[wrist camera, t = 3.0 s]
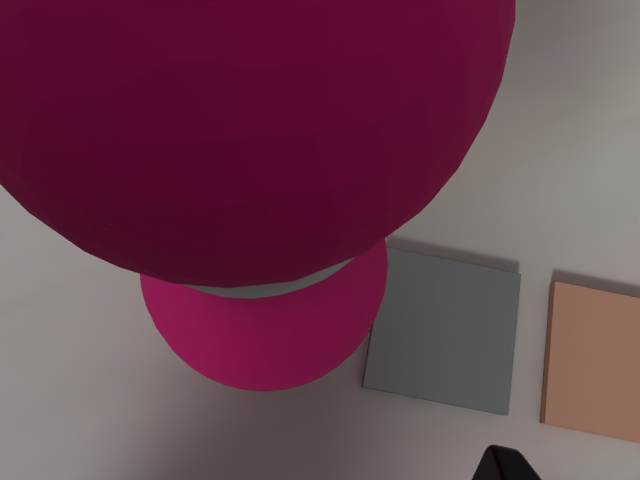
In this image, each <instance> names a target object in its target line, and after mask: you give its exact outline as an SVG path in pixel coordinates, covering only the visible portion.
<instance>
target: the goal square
mask: <svg viewBox="0 0 640 480" xmlns="http://www.w3.org/2000/svg"><path fill="white" fill-rule="evenodd" d="M540 423H544V424H549V425H554V426H559V427H564V428H569V429H574V430H579V431H584V432H589V433H594V434H599V435H604V436H609V437H614V438H619V439H624V440H628V441H633V442H638V443H640V298H636V297H631V296H626V295H621V294H616V293H611V292H606V291H601V290H596V289H591V288H586V287H581V286H576V285H572V284H567V283H562V282H557V281H555V282H553V283H551V285H550V298H549V311H548V324H547V338H546V351H545V364H544V377H543V390H542V404H541V417H540Z"/></svg>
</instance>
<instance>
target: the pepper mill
mask: <svg viewBox="0 0 640 480" xmlns="http://www.w3.org/2000/svg"><path fill="white" fill-rule="evenodd" d="M514 23H515V0H0V184H1V185H2V186H3V187H4V188H5V189H6V190H7V191H8V192H9V193H10V194H11V195H12V196H13V197H14V198H15V199H16V200H17V201H18V202H19V203H20V204H21V205H22V206H23V207H24V208H25V209H26V210H27V211H28V212H29V213H30V214H32V215H33V216H35V217H36V218H37V219H39V220H40V221H42V222H43V223H45V224H46V225H47V226H49V227H50V228H52V229H53V230H55V231H56V232H57V233H59V234H60V235H62V236H63V237H65V238H66V239H67V240H69V241H70V242H72V243H73V244H75V245H76V246H77V247H79V248H80V249H82V250H83V251H85V252H87V253H89V254H91V255H94V256H96V257H98V258H100V259H102V260H105V261H107V262H109V263H111V264H114V265H116V266H118V267H121V268H124V269H127V270H130V271H133V272H137V273H140V280H141V288H142V292H143V296H144V299H145V303H146V307H147V309H148V311H149V313H150V315H151V317H152V319H153V321H154V323H155V326H156V328H157V329H158V331H159V332H160V333H161V335H162V336H163V338H164V339H165V340H166V342H167V343H168V344H169V346H170V347H171V349H172V350H173V351H174V352H175V353H176V354H177V355H178V356H179V357H180V358H181V359H183V360H184V361H185V362H186V363H187V364H188V365H189V366H190V367H191V368H193V369H195V370H196V371H198V372H199V373H201V374H203V375H204V376H206V377H207V378H210V379H212V380H214V381H217V382H219V383H222V384H224V385H227V386H231V387H235V388H239V389H244V390H255V391H272V390H284V389H288V388H292V387H296V386H300V385H304V384H306V383H308V382H311V381H313V380H315V379H318V378H320V377H322V376H323V375H325V374H327V373H328V372H330V371H331V370H333V369H334V368H336V367H338V366H339V365H340V364H341V363H342V362H343V361H344V360H346V359H347V358H348V357H349V356H350V355H351V354H352V353H353V352H354V351H355V350H356V348H357V347H358V346H359V345H360V343H361V342H362V341H363V340H364V338H365V337H366V335H367V333H368V332H369V330H370V328H371V326H372V324H373V322H374V320H375V319H376V317H377V314H378V311H379V308H380V305H381V302H382V300H383V297H384V294H385V287H386V279H387V271H388V258H387V250H386V242H385V238H386V237H387V236H388V235H390V234H391V233H392V232H394V231H395V230H396V229H398V228H399V227H401V226H402V225H403V224H405V223H406V222H407V221H409V220H410V219H411V218H413V217H414V216H416V215H417V214H418V213H420V212H421V211H422V210H423V209H424V208H425V207H426V206H427V205H428V204H429V202H430V201H431V200H432V199H433V198H434V197H435V196H436V194H437V193H438V192H439V191H440V190H441V188H442V187H443V186H444V185H445V184H446V182H447V181H448V180H449V179H450V178H451V176H452V175H453V174H454V173H455V172H456V170H457V169H458V167H459V166H460V164H461V162H462V160H463V159H464V157H465V155H466V154H467V152H468V150H469V148H470V147H471V145H472V143H473V141H474V140H475V138H476V136H477V135H478V133H479V131H480V129H481V128H482V126H483V124H484V123H485V120H486V118H487V115H488V113H489V111H490V108H491V106H492V103H493V101H494V98H495V96H496V93H497V91H498V88H499V86H500V83H501V81H502V76H503V72H504V67H505V63H506V58H507V54H508V49H509V45H510V40H511V36H512V31H513V27H514Z"/></svg>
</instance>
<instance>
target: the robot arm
mask: <svg viewBox="0 0 640 480" xmlns="http://www.w3.org/2000/svg"><path fill="white" fill-rule="evenodd" d="M472 480H541V478H540V477H539V476H538V475H537V473H536V472H535V471H534V469H533V468H532V467H531V465H530V464H529V463H528V462H527V460H526V459H525V458H524V456H523V455H522V454H521V453H520V452H519V451H518V450H515V449H512V448H507V447H503V446H498V445H490V446H489V447H487V449H486V450H485V452H484V454H483V456H482V459H481V461H480V463H479V465H478V467H477V470H476V472H475V474H474V476H473V478H472Z"/></svg>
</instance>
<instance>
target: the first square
mask: <svg viewBox="0 0 640 480" xmlns="http://www.w3.org/2000/svg"><path fill="white" fill-rule="evenodd" d="M386 250H387V258H388V271H387V279H386V287H385V294H384V297H383V300H382V302H381V305H380V308H379V311H378V314H377V317H376V319H375V320H374V322H373V324H372V328H371V334H370V340H369V346H368V352H367V358H366V364H365V370H364V376H363V382H362V387H366V388H371V389H376V390H381V391H386V392H391V393H396V394H401V395H406V396H411V397H416V398H421V399H426V400H431V401H436V402H441V403H446V404H451V405H456V406H461V407H466V408H470V409H475V410H480V411H485V412H490V413H495V414H500V415H508V410H509V399H510V389H511V378H512V367H513V356H514V345H515V334H516V323H517V312H518V302H519V291H520V280H521V274H517V273H512V272H507V271H502V270H497V269H492V268H487V267H482V266H478V265H473V264H468V263H463V262H458V261H453V260H448V259H443V258H438V257H433V256H428V255H423V254H418V253H413V252H408V251H403V250H398V249H393V248H388V247H386Z"/></svg>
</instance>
